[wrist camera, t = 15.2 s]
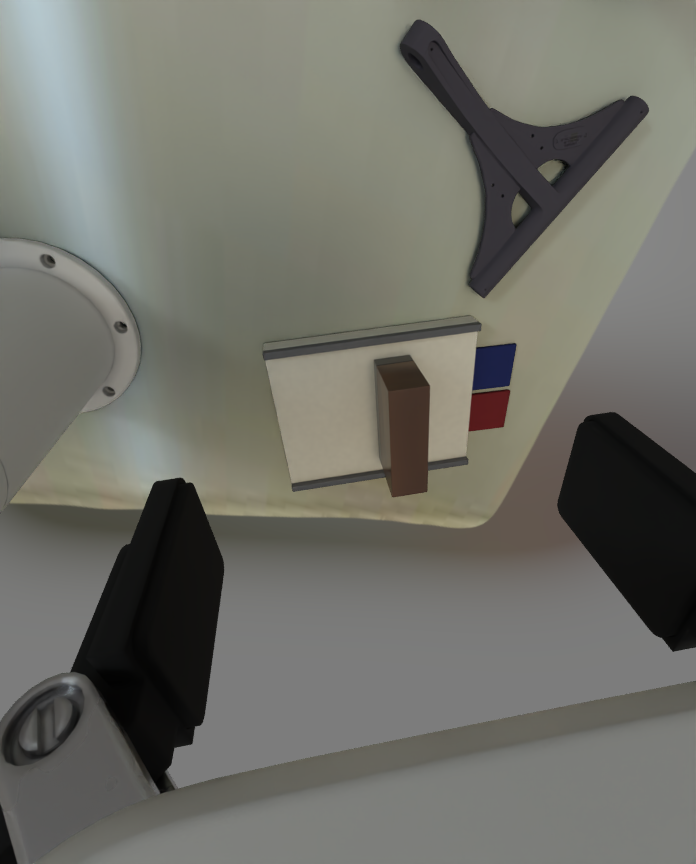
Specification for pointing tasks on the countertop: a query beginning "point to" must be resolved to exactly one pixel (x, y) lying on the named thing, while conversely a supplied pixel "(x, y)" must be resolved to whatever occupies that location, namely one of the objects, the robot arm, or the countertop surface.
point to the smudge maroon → (488, 410)
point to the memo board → (367, 397)
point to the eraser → (402, 424)
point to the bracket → (516, 154)
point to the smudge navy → (493, 366)
